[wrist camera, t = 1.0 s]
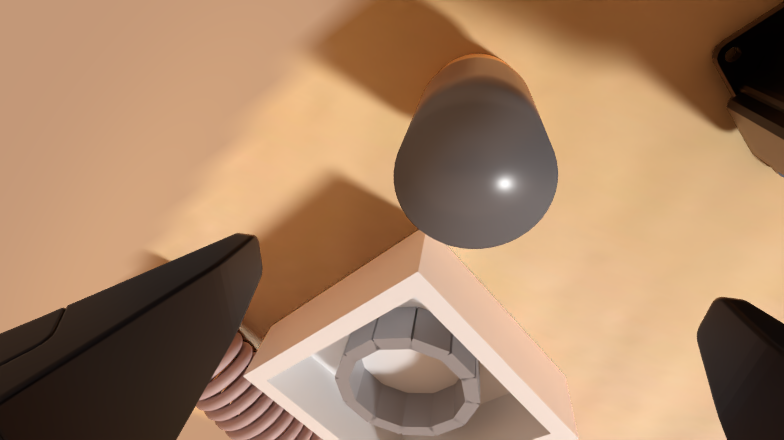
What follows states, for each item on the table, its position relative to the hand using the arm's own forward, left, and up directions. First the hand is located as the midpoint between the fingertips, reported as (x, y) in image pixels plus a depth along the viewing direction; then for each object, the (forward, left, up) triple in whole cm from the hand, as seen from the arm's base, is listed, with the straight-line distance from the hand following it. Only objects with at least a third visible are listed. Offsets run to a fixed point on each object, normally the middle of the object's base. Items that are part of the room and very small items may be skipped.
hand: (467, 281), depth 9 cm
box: (+12, +10, -12) cm, 19 cm away
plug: (0, 0, -12) cm, 12 cm away
